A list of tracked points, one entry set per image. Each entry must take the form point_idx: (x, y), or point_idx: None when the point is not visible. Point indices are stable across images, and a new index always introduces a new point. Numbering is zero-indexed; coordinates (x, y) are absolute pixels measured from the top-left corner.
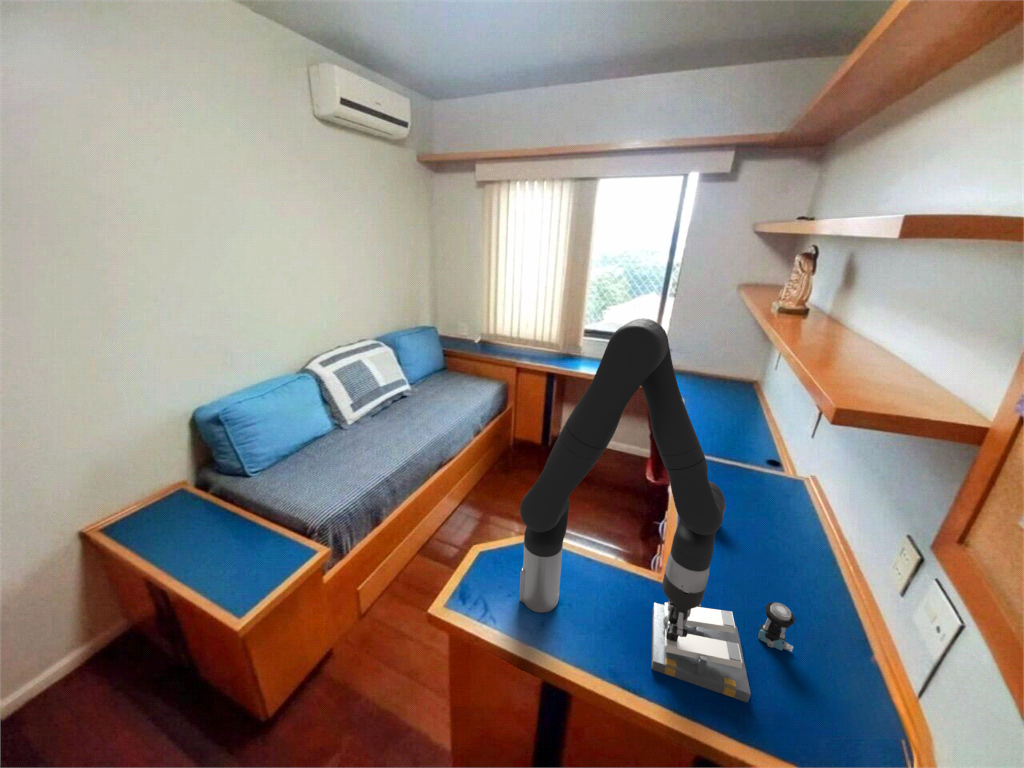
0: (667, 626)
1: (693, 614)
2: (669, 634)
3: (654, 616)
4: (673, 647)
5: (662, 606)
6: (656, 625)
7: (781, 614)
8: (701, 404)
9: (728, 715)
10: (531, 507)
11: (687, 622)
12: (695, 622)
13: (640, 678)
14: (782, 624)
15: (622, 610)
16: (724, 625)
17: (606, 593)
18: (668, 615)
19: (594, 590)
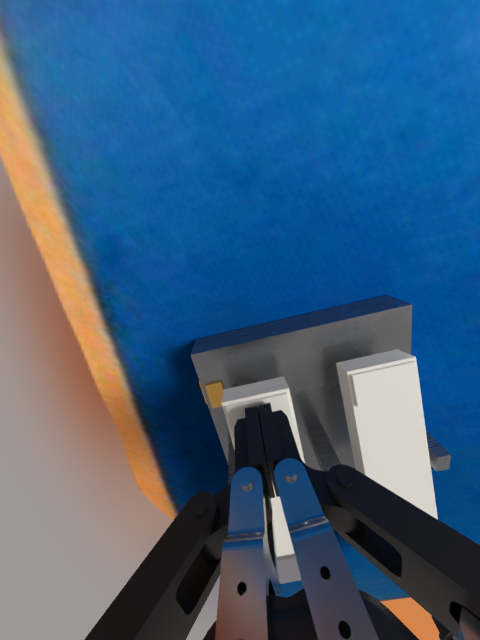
0: (267, 436)
1: (391, 457)
2: (236, 445)
3: (350, 320)
4: (229, 426)
5: (403, 332)
6: (318, 333)
7: None
8: None
9: (200, 472)
10: None
11: (354, 436)
12: (361, 464)
13: (153, 322)
14: (439, 627)
15: (344, 204)
16: None
17: (398, 110)
18: (224, 595)
19: (395, 44)
